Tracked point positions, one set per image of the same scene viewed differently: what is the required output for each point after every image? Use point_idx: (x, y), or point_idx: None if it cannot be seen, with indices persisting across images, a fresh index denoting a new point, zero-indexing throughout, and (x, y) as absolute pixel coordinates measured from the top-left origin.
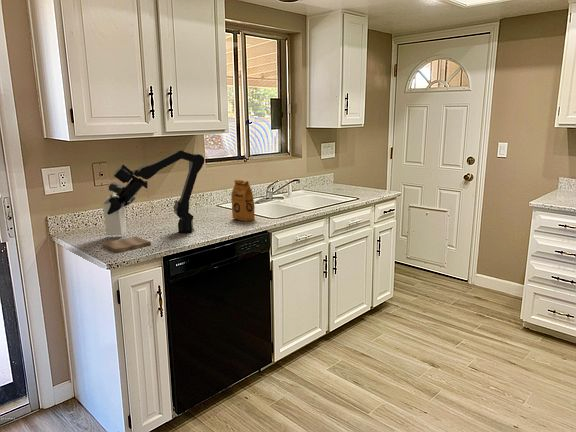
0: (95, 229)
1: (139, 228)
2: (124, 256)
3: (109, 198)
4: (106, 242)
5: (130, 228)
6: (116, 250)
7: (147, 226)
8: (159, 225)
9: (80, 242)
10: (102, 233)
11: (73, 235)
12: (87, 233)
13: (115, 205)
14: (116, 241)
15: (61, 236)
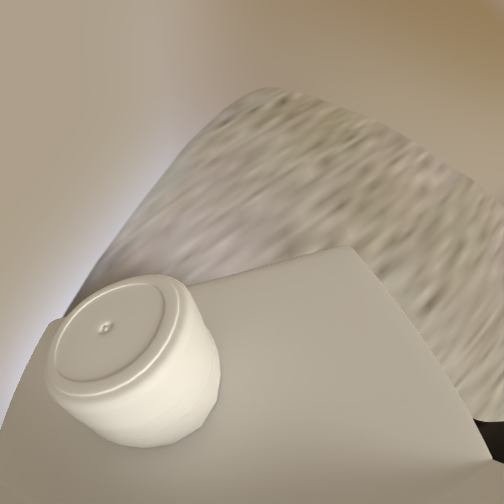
0: (376, 157)
1: (455, 361)
2: None
3: (20, 470)
4: None
5: (447, 314)
6: None
7: (485, 370)
8: (499, 407)
9: (151, 237)
10: (327, 232)
11: (260, 134)
12: (306, 164)
13: None
14: None
15: (237, 109)
